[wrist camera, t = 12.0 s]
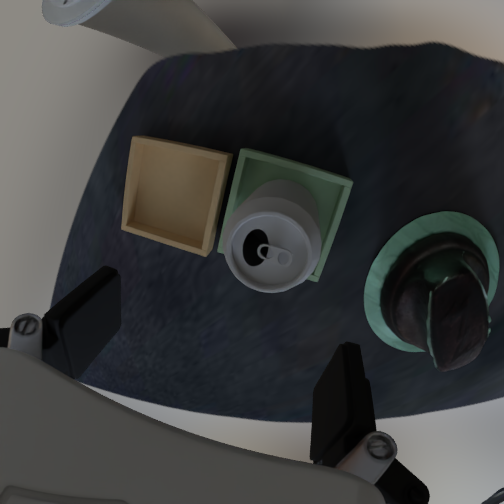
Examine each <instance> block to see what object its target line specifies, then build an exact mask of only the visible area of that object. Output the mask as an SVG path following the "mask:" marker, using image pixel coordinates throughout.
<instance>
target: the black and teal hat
mask: <svg viewBox="0 0 504 504" xmlns="http://www.w3.org/2000/svg"><path fill="white" fill-rule="evenodd" d="M498 277H499V255H498V251H497V247H496V245H495V242H494V240H493V238H492V237H491V235H490V234H489V232H488V231H487V230H486V228H485V227H484V226H483V225H482V224H480V223H479V222H478V221H477V220H475V219H473V218H472V217H470V216H468V215H465V214H462V213H458V212H448V211H445V212H438V213H433V214H429V215H425V216H422V217H419V218H417V219H415V220H414V221H412V222H411V223H409V224H407V225H406V226H404V227H403V228H401V229H400V230H399V231H398V232H397V233H396V234H395V235H393V236H392V237H391V239H390V240H389V241H388V242H387V243H386V244H385V246H384V247H383V248H382V250H381V251H380V253H379V254H378V256H377V257H376V259H375V260H374V262H373V264H372V266H371V268H370V271H369V274H368V277H367V280H366V284H365V291H364V308H365V313H366V317H367V320H368V322H369V324H370V326H371V328H372V330H373V331H374V332H375V334H376V335H377V336H378V337H379V338H380V339H381V340H383V341H384V342H385V343H387V344H389V345H390V346H393V347H395V348H397V349H400V350H403V351H409V352H421V351H426V352H428V353H430V354H431V355H432V357H434V363H435V367H436V368H437V369H438V370H439V371H440V372H445V371H449V370H453V369H456V368H459V367H462V366H464V365H466V364H468V363H469V362H471V361H472V360H474V359H475V358H476V357H477V356H478V355H479V353H480V351H481V349H482V347H483V346H484V343H485V341H486V340H487V337H488V336H489V332H490V331H491V330H490V328H489V329H488V322H489V323H490V322H491V318H490V316H489V304H490V303H491V301H492V299H493V297H494V294H495V291H496V288H497V282H498Z"/></svg>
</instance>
